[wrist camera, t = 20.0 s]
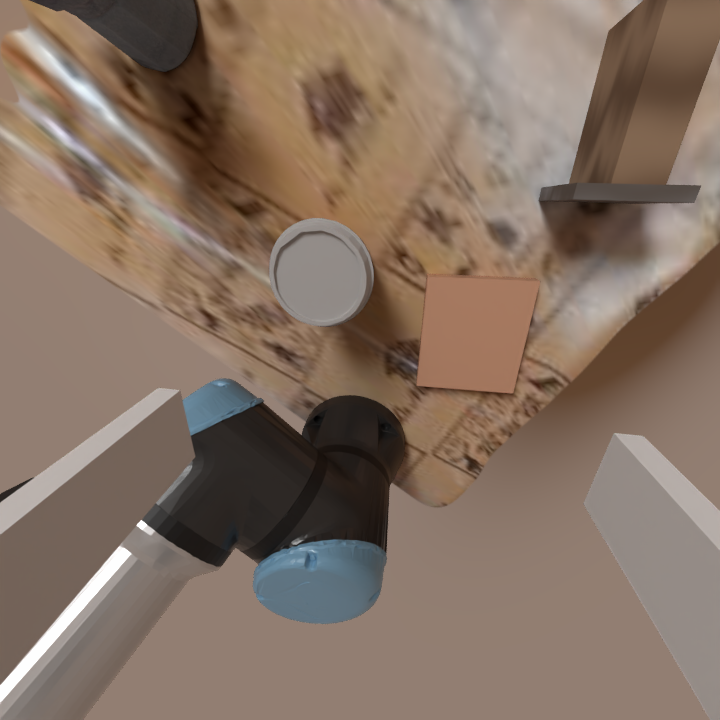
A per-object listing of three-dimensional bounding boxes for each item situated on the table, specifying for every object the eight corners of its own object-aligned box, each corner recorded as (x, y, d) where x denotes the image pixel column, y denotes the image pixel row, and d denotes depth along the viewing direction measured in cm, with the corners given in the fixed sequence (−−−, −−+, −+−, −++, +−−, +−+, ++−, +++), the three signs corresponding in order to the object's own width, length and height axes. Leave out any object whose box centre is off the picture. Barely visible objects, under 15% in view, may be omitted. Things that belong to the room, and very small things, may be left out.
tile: (533, 277, 38) (508, 385, 44) (426, 273, 39) (416, 378, 45) (540, 281, 36) (513, 393, 42) (427, 276, 37) (416, 385, 43)
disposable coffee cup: (380, 211, 37) (368, 214, 26) (384, 297, 41) (375, 330, 30) (297, 218, 38) (253, 222, 27) (308, 299, 42) (274, 332, 31)
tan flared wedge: (632, 203, 33) (694, 202, 26) (538, 200, 34) (572, 199, 27) (692, 29, 28) (790, -33, 21) (577, 31, 29) (633, -27, 22)
